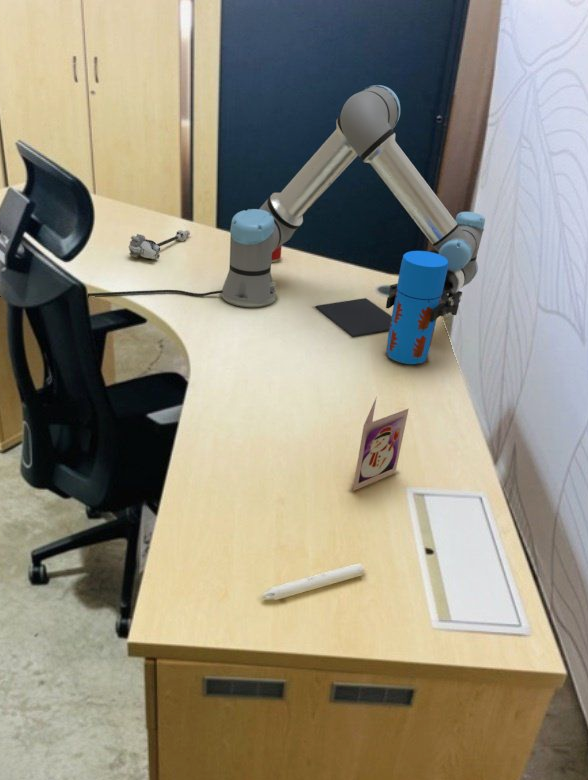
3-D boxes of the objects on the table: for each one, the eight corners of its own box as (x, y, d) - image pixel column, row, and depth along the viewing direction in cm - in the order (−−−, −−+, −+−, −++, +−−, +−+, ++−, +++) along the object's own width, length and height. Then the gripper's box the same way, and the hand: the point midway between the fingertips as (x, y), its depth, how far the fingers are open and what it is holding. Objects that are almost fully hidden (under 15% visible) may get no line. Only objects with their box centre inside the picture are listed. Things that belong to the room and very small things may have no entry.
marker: (264, 606, 119) (265, 595, 117) (258, 597, 120) (259, 586, 119) (362, 577, 125) (364, 567, 124) (356, 569, 127) (358, 559, 125)
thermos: (431, 350, 194) (451, 255, 180) (424, 367, 186) (445, 270, 172) (389, 341, 197) (406, 247, 182) (381, 358, 189) (398, 261, 174)
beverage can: (280, 263, 240) (283, 226, 233) (260, 262, 240) (263, 224, 233) (280, 256, 245) (283, 219, 238) (261, 255, 245) (263, 218, 238)
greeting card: (355, 493, 144) (367, 427, 135) (330, 473, 149) (340, 408, 140) (398, 475, 150) (412, 410, 141) (372, 456, 155) (384, 393, 146)
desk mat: (352, 337, 200) (353, 335, 199) (315, 307, 214) (315, 305, 213) (405, 328, 206) (405, 326, 206) (365, 299, 220) (365, 298, 220)
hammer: (201, 227, 252) (154, 246, 228) (198, 246, 256) (151, 267, 232) (176, 217, 254) (126, 236, 231) (173, 237, 258) (124, 257, 234)
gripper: (483, 309, 194) (451, 338, 178) (401, 285, 203) (364, 310, 188) (491, 281, 189) (458, 308, 174) (406, 258, 199) (368, 281, 184)
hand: (409, 309), depth 181 cm, fingers closed on thermos, 11 cm apart
